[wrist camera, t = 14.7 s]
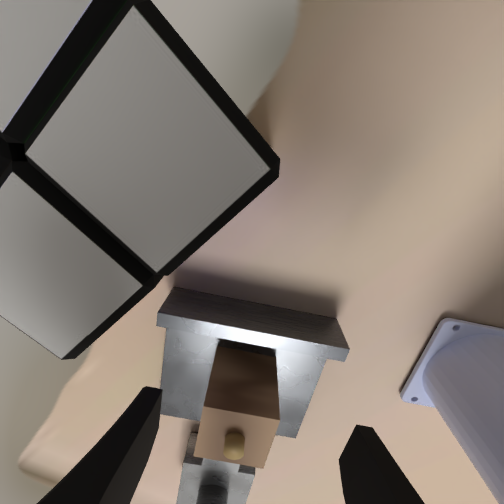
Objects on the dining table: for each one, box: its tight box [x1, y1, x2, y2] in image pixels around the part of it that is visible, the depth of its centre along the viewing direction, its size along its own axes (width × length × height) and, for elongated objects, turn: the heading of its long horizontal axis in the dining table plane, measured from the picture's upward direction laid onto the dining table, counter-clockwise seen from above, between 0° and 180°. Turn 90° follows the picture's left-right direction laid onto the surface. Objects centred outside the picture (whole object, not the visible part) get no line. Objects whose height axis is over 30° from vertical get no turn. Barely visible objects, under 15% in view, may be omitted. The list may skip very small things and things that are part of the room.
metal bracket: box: [156, 287, 350, 438], centre depth 20 cm, size 12×12×3 cm
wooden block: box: [194, 346, 280, 468], centre depth 18 cm, size 4×4×6 cm
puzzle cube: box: [0, 0, 280, 360], centre depth 11 cm, size 10×10×10 cm
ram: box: [176, 433, 255, 504], centre depth 22 cm, size 6×9×7 cm, turn 169°
